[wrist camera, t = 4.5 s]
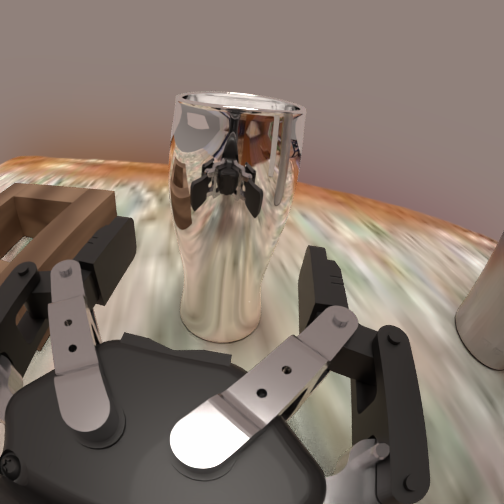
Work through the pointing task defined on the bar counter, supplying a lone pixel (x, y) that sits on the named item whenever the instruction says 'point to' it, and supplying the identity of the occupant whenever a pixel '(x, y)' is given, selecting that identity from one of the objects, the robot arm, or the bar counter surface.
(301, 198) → the bar counter surface
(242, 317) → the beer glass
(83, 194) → the walnut well block
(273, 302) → the bar counter surface
